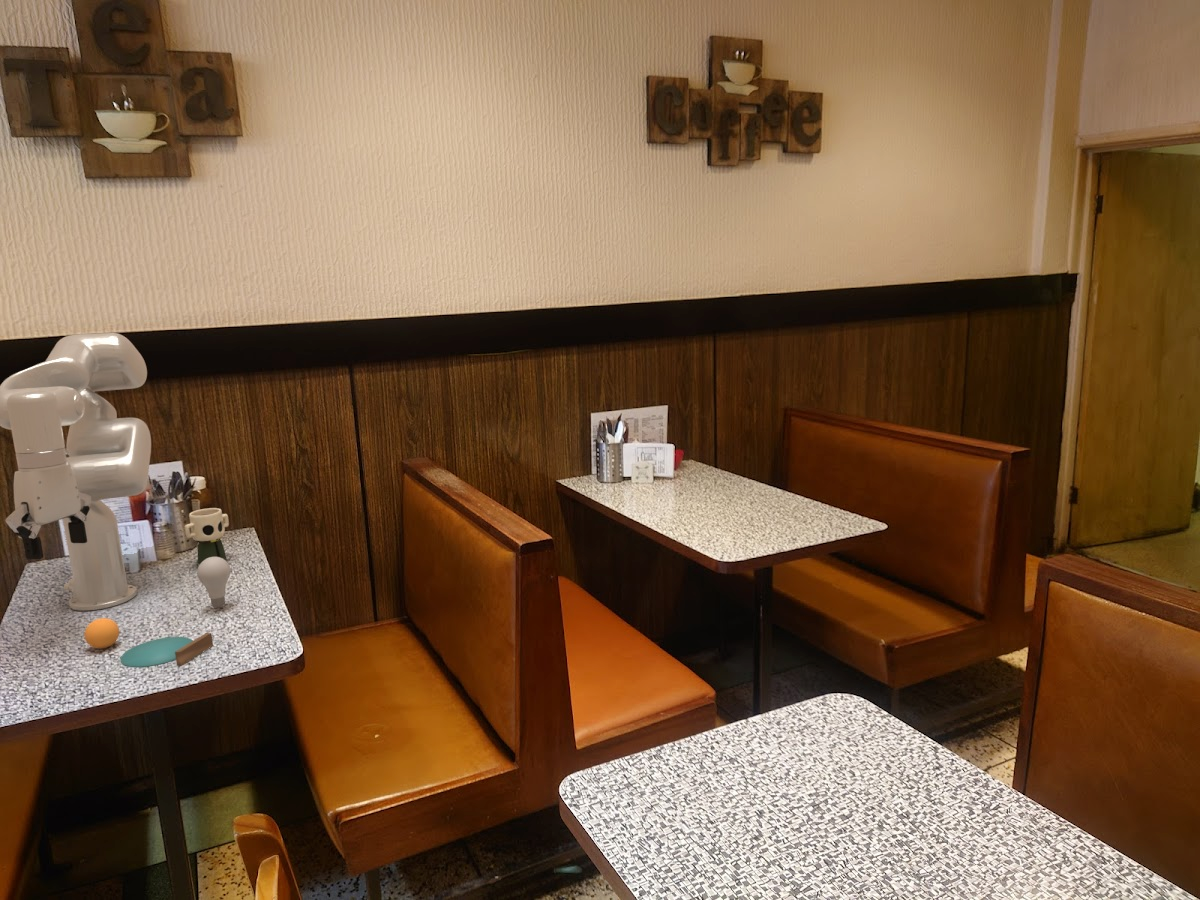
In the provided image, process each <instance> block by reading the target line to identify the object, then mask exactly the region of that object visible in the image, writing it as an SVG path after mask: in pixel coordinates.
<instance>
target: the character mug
mask: <svg viewBox="0 0 1200 900" xmlns="http://www.w3.org/2000/svg"><path fill="white" fill-rule="evenodd" d="M188 517H189V523H188V524H185V525H184V533H185V537H186V539H192V540H194V541H196V542H198V543H197V564H198V565H200V564H201V562H203V561H204V560H205V559H207V558H210V557H220V558H223V559H224V560H225V561H226V562H227V555H226V554H227V553H226V552H225V548H224V545H223V541H222V540H221V537H223V536H224V535H225V532H226V531H225V530H226V529H225V528H228V527H229V525H230V522H229V516H228V514H227V513H223V512H222V509H221V508H217V507H209V508H202V509H197V510H194V511H191V512H190V513H189V514H188Z"/></svg>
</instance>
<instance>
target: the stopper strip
mask: <svg viewBox="0 0 1200 900" xmlns="http://www.w3.org/2000/svg"><path fill="white" fill-rule="evenodd" d="M212 636H213V635H212V633H211V632H206V633H204V634H202V635H200V636H199V637H197V638H195V639H194V640H193V641H192V642H190V643H189V644H187V645H185V646H184V647H182V648H180V649H179V650H177V651H175V656H176V660H175V663H176V665H177V666H181V665H182V666H184V665H185V664H186V663H188V662H190V661H192V660H193V659H195V658H196V657H197V655H198V656H200V655H201V654H202V653H201V652H203V651H204V652H206V651H207V650H209V649H210V648H212V647H213V646H214V643H213V637H212ZM212 645H213V646H212ZM211 646H212V647H211ZM209 647H210V648H209ZM208 648H209V649H208ZM206 649H207V650H206ZM205 650H206V651H205ZM204 652H203V653H204ZM200 653H201V654H200ZM194 657H195V658H194ZM189 660H190V661H189Z"/></svg>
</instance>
